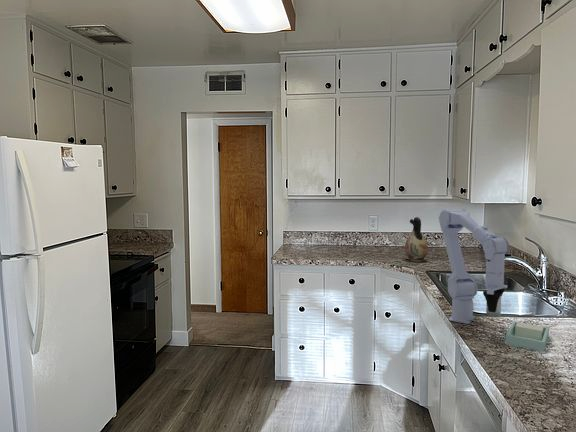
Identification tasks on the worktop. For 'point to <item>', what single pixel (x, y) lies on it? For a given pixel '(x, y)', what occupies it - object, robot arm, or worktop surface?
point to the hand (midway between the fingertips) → (493, 309)
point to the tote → (526, 339)
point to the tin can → (498, 310)
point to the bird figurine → (416, 243)
